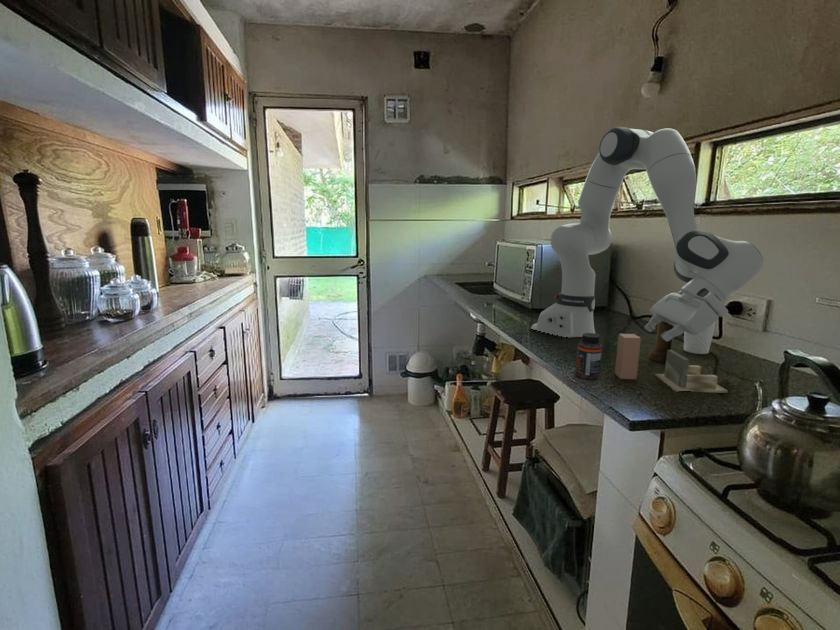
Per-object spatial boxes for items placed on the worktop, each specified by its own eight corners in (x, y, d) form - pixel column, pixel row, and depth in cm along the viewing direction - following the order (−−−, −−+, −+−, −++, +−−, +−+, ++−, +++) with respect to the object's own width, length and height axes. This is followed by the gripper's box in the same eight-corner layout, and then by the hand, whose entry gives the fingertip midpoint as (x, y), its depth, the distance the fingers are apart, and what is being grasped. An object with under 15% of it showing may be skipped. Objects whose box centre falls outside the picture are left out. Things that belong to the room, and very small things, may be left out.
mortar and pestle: (644, 357, 131) (651, 298, 127) (659, 355, 133) (666, 296, 130) (664, 364, 125) (671, 302, 121) (679, 361, 127) (687, 300, 124)
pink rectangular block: (630, 374, 117) (634, 334, 114) (636, 379, 113) (641, 338, 111) (614, 373, 117) (618, 333, 115) (620, 378, 113) (624, 337, 111)
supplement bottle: (571, 372, 118) (574, 331, 115) (592, 372, 118) (596, 331, 116) (581, 380, 112) (584, 337, 109) (603, 379, 112) (607, 337, 110)
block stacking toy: (702, 376, 115) (706, 349, 113) (727, 392, 104) (732, 362, 102) (654, 375, 116) (657, 348, 114) (675, 391, 105) (679, 361, 103)
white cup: (715, 355, 133) (720, 323, 131) (686, 354, 134) (691, 322, 132) (704, 348, 140) (708, 318, 138) (677, 347, 142) (681, 316, 140)
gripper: (671, 282, 119) (630, 316, 122) (715, 294, 99) (665, 335, 102) (686, 298, 120) (645, 332, 122) (732, 314, 100) (682, 354, 103)
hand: (654, 334), depth 112 cm, fingers open, 8 cm apart
